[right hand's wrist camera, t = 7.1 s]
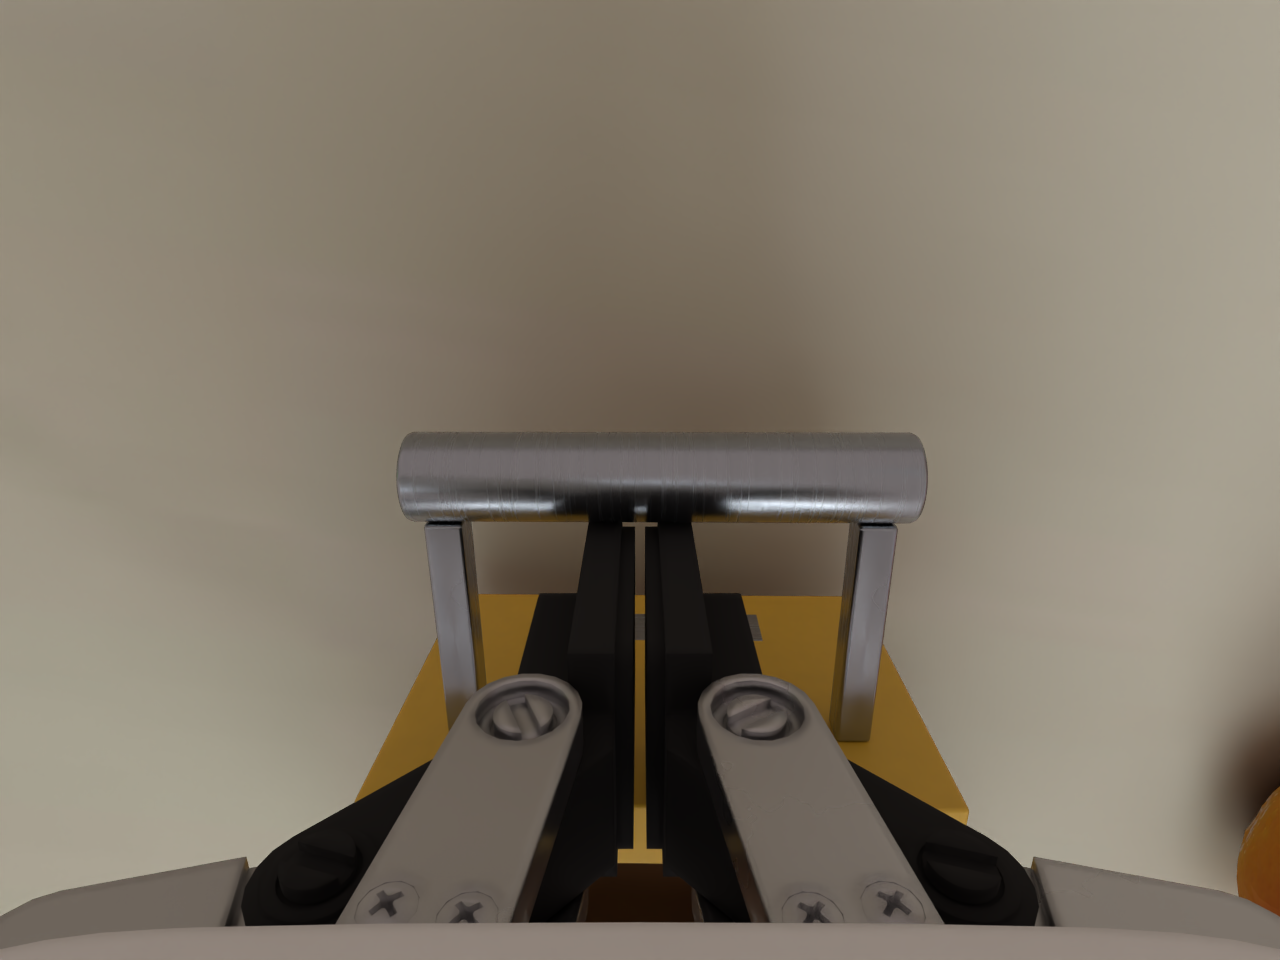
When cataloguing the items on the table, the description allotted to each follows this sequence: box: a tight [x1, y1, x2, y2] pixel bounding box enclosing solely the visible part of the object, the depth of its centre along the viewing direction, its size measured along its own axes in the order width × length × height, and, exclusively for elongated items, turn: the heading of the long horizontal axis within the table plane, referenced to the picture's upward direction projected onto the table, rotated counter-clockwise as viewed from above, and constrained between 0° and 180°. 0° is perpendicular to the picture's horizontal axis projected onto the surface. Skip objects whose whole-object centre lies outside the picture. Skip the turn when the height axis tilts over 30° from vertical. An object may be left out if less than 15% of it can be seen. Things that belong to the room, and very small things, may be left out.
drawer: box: [354, 432, 969, 923], centre depth 15 cm, size 17×9×6 cm, turn 0°
